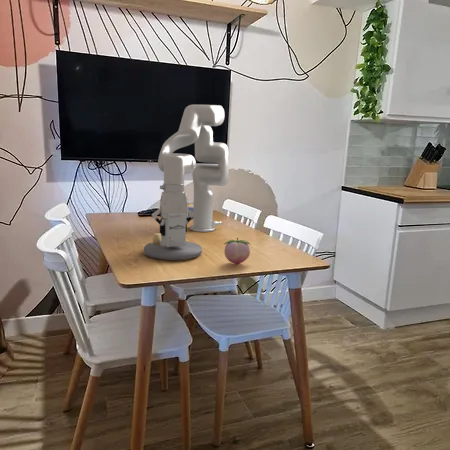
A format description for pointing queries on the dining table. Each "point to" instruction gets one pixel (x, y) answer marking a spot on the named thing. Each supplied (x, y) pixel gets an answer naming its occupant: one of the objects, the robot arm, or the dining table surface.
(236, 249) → the decorative fruit
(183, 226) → the supplement box
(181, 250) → the disc
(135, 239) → the dining table surface
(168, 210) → the robot arm
